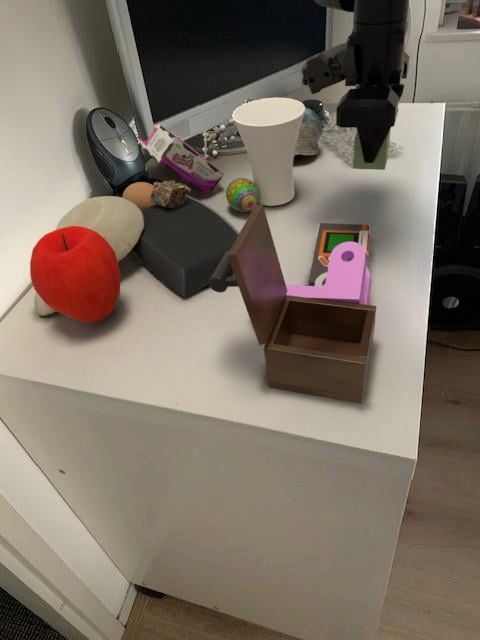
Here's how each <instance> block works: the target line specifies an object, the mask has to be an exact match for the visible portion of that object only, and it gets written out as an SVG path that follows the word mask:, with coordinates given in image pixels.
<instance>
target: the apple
mask: <svg viewBox="0 0 480 640" xmlns="http://www.w3.org/2000/svg"><path fill="white" fill-rule="evenodd" d="M30 256H31V257H30V261H29V274H30V280H31V283H32V286H33V289H34V291H35V293H36V292H37V293H38V295H39V296H40V297H41V299H42V300H43V301H44V302H45V303H46V304H47V305H48V306H49V307H51V308H52V309H53V310H55V311H56V312H58V313H60V314H62V315H64V316H67V317H69V318H70V319H73V320H75V321H79V322H83V323H89V324H90V323H92V324H93V323H98V322H99V321H102V320H104V319H105V318H107V317H108V316H109V315H110V314H111V313H112V312H113V311H114V309H115V306H116V304H117V301H118V298H119V295H120V293H121V270H120V266H119V262H117V258H116V254H115V251H114V250H113V249H112V247H111V246H110V245H109V243H108V242H107V241H106V240H105V239H104V238H103V237H102V236H101V235H100V234H98V233H97V232H95V231H93V230H91V229H88V228H86V227H80V226H69V227H64V228H61V229H58V230H56V229H54V230H52V231H50V232H48V233H46V234H44V235H43V236H42V237H41V238H40V239H38V241H36V244H35V245H34V247H33V248H32V250H31V255H30Z"/></svg>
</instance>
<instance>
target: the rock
mask: <svg viewBox="0 0 480 640" xmlns="http://www.w3.org/2000/svg"><path fill="white" fill-rule="evenodd" d="M153 185H154V189H153V191H152V193H151V196H150V201H151V203H156V204H159V205H162V206H164V207H167V208H178V207H180V206H181V205H183V204H184V203H185V200H186V195H187V192H186V191H188V192H189V193H191V191H192V188H191V187H188V186H187V183H186V184H182V183H181V182H180V183H179V182H175V181H174V180H168V181H167V180H165V181H164V180H163V181H158V180H156V181H153Z"/></svg>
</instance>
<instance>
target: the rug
mask: <svg viewBox="0 0 480 640" xmlns="http://www.w3.org/2000/svg"><path fill="white" fill-rule="evenodd" d="M328 119H329V120H328ZM328 119H327V118H325V120H326V121H325V123H323V124H322V133H321V136H320V137H319V138H320V139H321V140H322V142H324V143H326V145H327V146H328V147H331V148H333V149H335V152H338V155H342V156H343V158H344V159H345V160H346V162H347V163H348V164H351V165H353V157H354V138H355V136H356V133H357V128H353V129H352V128H342V127H338V126H336V122H335V121H336V115H335V116H330V117H328ZM333 138H334V139H333ZM344 141H345V142H344ZM341 143H342V144H341ZM340 144H341V145H340ZM397 147H398V148H397ZM398 150H400V151H401V150H403V146H401V145H400V144H396V142H392V141H391V140H390V141H389V152H388V154H390V153H391V154H392V155H394V154H395V153H398Z"/></svg>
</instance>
